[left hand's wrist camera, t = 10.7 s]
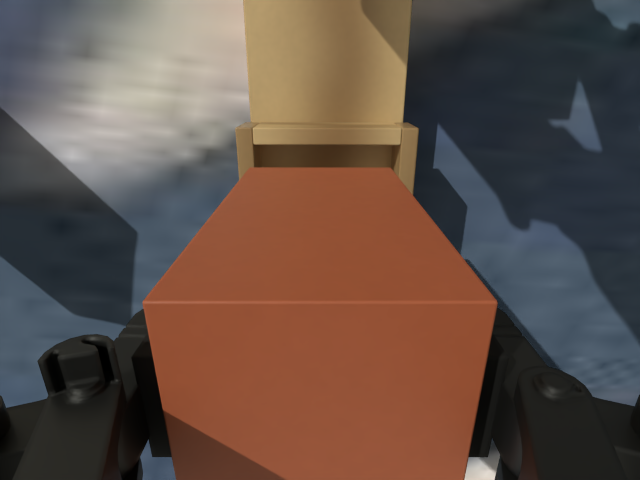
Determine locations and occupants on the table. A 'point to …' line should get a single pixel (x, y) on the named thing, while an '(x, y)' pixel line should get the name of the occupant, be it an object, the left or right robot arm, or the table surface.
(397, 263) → the reddish brown block
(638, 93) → the table surface
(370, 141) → the holder
